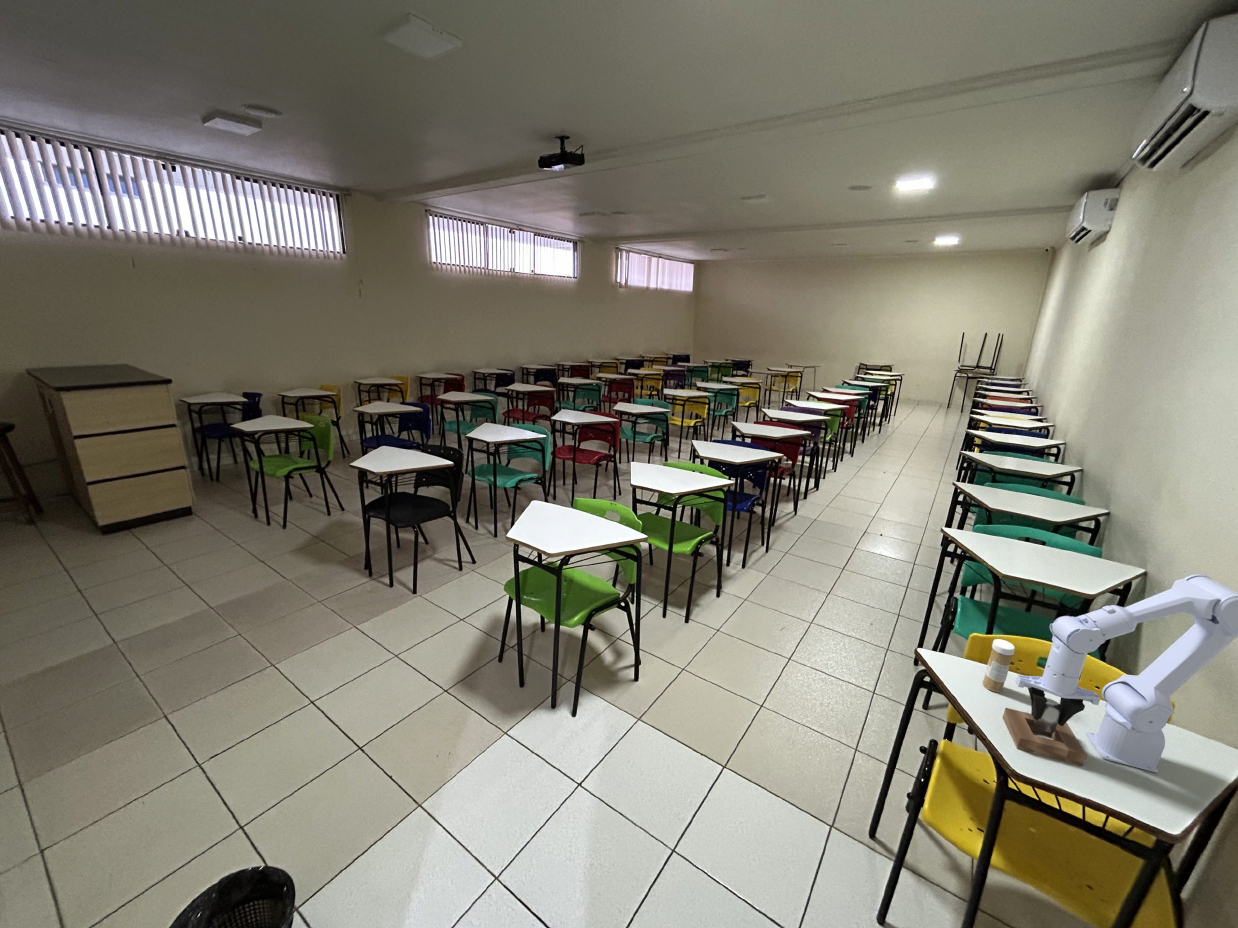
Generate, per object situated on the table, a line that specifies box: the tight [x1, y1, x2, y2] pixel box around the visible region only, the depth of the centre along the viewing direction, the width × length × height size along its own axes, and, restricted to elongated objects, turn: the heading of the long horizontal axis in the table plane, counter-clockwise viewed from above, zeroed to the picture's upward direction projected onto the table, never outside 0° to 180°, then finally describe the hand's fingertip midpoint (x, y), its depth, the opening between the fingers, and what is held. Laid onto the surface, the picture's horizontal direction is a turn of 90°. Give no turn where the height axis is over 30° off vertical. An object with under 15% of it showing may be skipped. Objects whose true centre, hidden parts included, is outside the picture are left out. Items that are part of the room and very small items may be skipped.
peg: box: [1033, 697, 1063, 733], centre depth 114 cm, size 4×4×6 cm
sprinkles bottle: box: [982, 638, 1016, 693], centre depth 131 cm, size 5×5×14 cm
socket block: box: [1002, 707, 1088, 767], centre depth 115 cm, size 12×10×3 cm
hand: (1046, 719), depth 114 cm, fingers closed on peg, 4 cm apart
